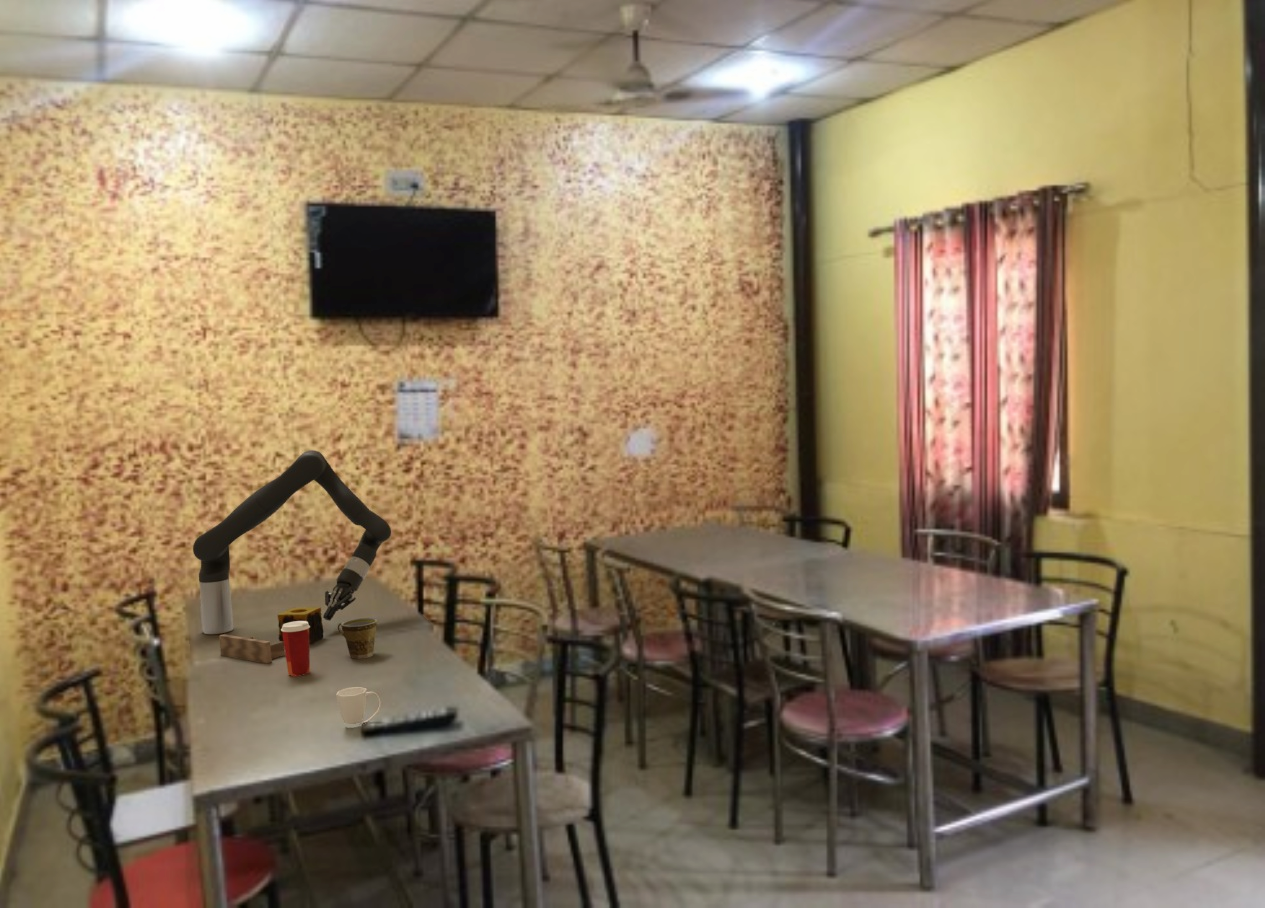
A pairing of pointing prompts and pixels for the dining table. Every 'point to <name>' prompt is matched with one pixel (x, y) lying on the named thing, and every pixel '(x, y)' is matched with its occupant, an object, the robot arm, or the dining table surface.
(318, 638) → the candle
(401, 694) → the dining table surface
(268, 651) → the brown rectangular block structure
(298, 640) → the paper cup
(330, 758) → the dining table surface
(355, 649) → the ceramic cup
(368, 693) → the cup
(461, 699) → the dining table surface
